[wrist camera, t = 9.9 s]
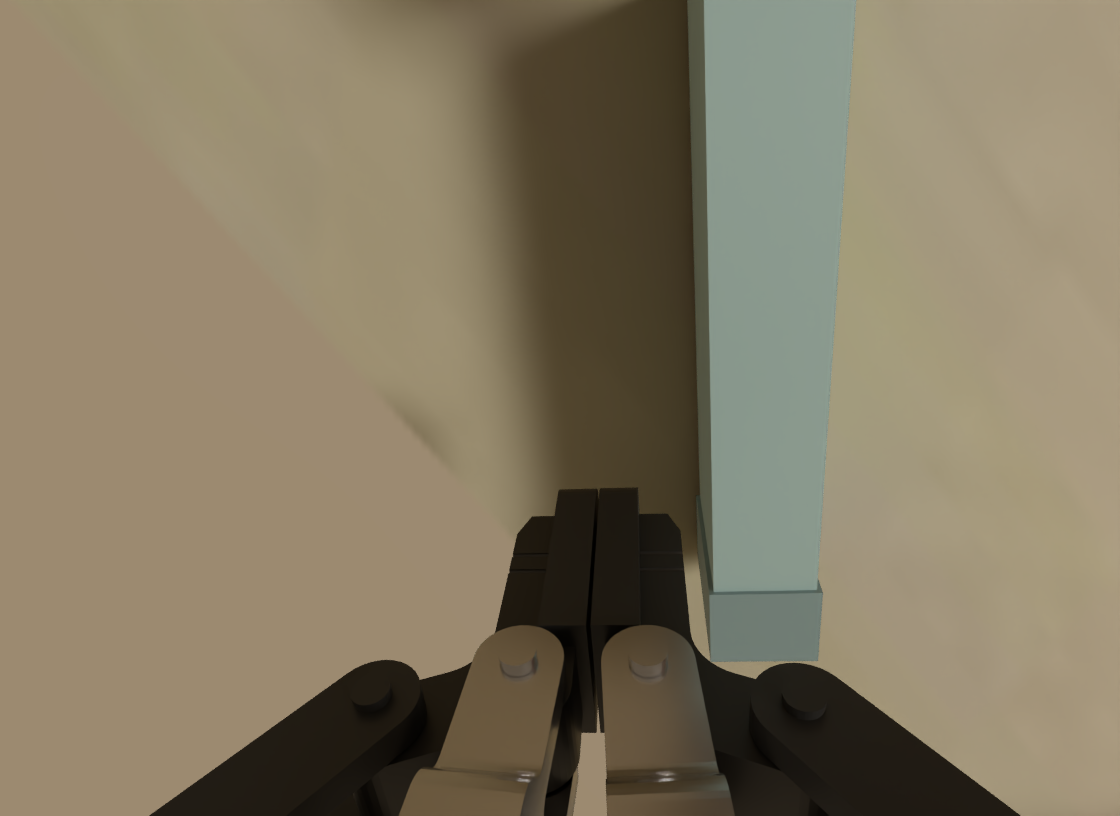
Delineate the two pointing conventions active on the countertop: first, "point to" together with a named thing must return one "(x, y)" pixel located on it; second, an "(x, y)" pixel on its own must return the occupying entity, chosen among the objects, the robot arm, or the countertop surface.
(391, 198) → the countertop surface
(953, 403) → the countertop surface
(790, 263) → the bar
